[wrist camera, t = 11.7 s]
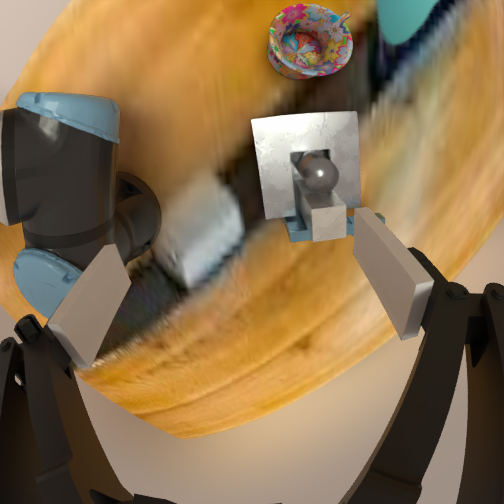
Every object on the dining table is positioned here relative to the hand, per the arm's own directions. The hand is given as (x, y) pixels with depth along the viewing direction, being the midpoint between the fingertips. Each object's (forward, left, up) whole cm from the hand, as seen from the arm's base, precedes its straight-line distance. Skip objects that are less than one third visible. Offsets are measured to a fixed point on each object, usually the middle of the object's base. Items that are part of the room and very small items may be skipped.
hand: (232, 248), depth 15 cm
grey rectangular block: (+9, -7, -27) cm, 29 cm away
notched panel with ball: (+10, -3, -29) cm, 31 cm away
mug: (+11, +15, -29) cm, 34 cm away
